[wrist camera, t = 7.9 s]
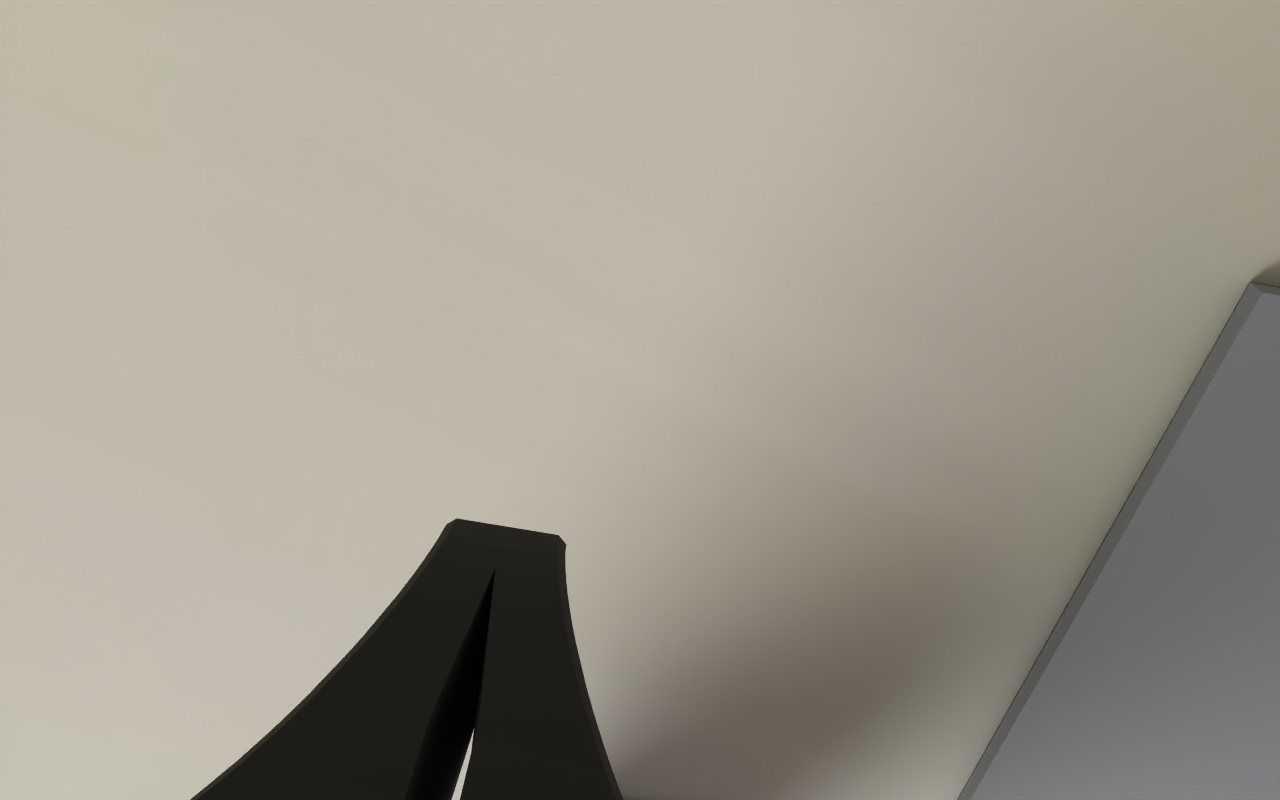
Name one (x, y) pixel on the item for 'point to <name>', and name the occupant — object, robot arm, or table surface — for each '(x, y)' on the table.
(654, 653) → the table surface
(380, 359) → the table surface
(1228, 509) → the mat
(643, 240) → the table surface
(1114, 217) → the table surface
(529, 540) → the robot arm
